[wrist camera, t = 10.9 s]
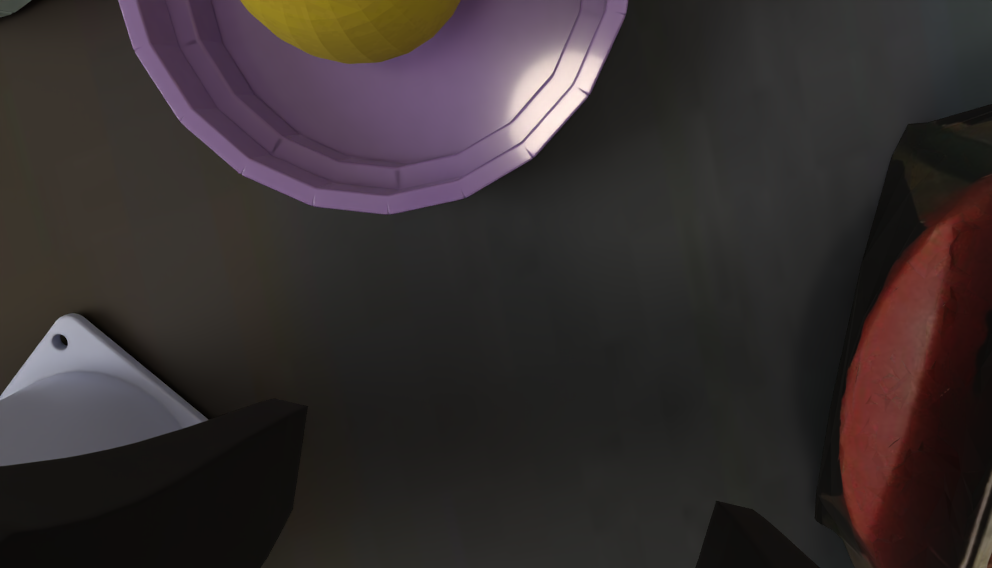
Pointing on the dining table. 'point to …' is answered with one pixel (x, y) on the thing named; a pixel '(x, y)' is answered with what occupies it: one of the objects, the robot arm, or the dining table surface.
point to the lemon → (353, 25)
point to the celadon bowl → (11, 6)
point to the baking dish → (919, 363)
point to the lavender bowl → (377, 97)
